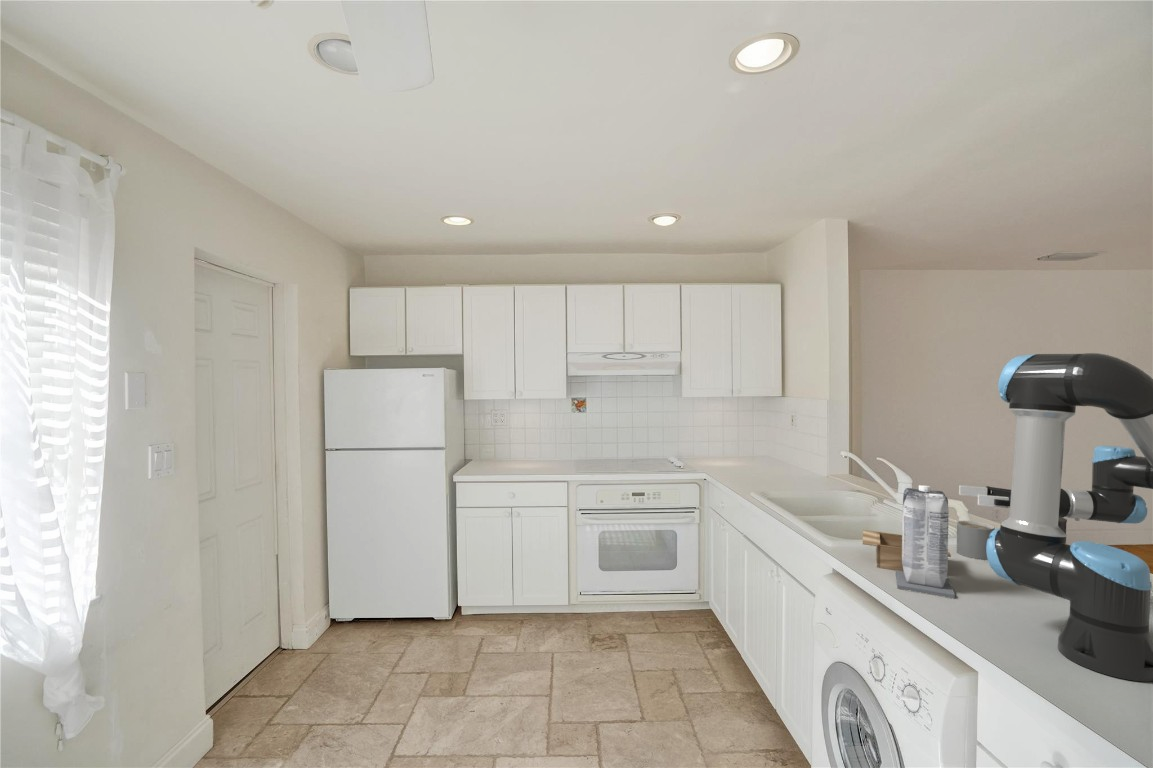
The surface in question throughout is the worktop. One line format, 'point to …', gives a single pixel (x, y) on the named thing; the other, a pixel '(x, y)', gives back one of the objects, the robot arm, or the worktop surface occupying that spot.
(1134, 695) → the worktop surface
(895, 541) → the crate
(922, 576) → the juice carton
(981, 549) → the coffee mug
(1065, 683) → the worktop surface
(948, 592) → the mat
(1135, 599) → the robot arm
